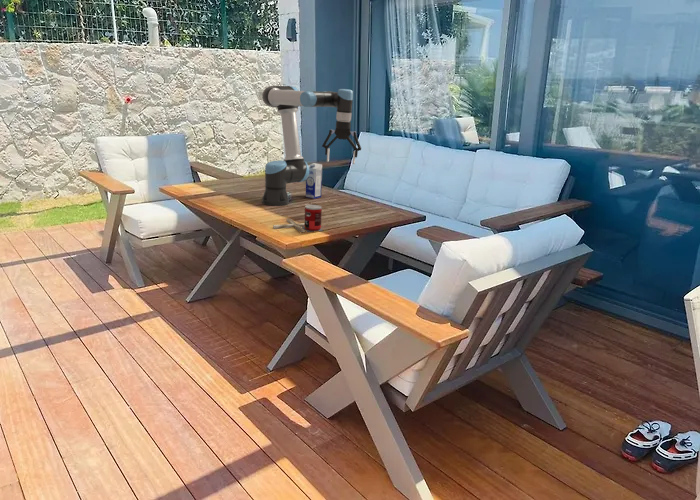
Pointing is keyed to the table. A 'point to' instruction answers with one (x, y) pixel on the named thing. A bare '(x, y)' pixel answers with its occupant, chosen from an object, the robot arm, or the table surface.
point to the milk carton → (314, 181)
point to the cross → (293, 224)
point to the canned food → (313, 217)
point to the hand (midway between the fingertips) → (340, 162)
